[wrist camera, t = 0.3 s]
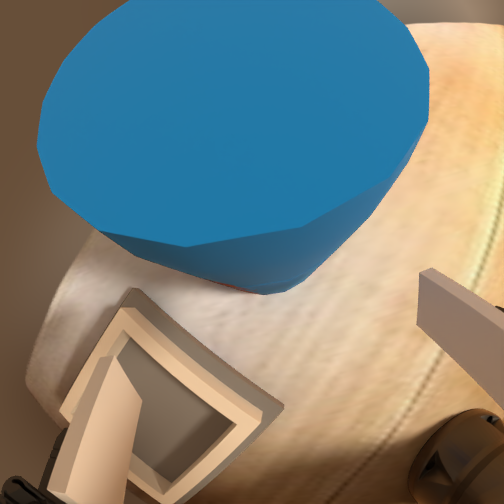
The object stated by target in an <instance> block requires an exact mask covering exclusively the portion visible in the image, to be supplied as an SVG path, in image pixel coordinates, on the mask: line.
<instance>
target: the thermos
mask: <svg viewBox="0 0 504 504" xmlns="http://www.w3.org/2000/svg"><path fill="white" fill-rule="evenodd" d="M428 115H429V68H428V66H427V64H426V62H425V60H424V57H423V55H422V54H421V52H420V50H419V48H418V46H417V44H416V42H415V40H414V38H413V37H412V35H411V33H410V31H409V30H408V28H407V27H406V26H405V25H404V24H403V23H402V22H401V21H400V20H399V19H398V18H397V17H395V16H394V15H393V14H392V13H391V12H390V11H388V10H387V9H386V8H385V7H384V6H383V5H382V4H380V3H379V2H378V1H377V0H129V1H128V2H126V3H125V4H123V5H122V6H121V7H119V8H118V9H116V10H115V11H113V12H112V13H111V14H109V15H108V16H106V17H105V18H104V19H103V20H101V21H100V22H99V23H97V24H96V25H95V26H94V27H93V28H92V29H91V30H90V31H89V32H88V33H87V34H86V36H85V37H84V38H83V39H82V40H81V41H80V42H79V43H78V44H77V45H76V47H75V48H74V49H73V50H72V51H71V52H70V54H69V55H68V56H67V57H66V58H65V60H64V61H63V63H62V65H61V67H60V68H59V70H58V72H57V74H56V76H55V78H54V80H53V82H52V84H51V86H50V88H49V90H48V92H47V94H46V96H45V99H44V101H43V105H42V110H41V118H40V125H39V131H38V140H37V149H38V153H39V156H40V159H41V162H42V165H43V169H44V171H45V174H46V177H47V180H48V183H49V186H50V189H51V191H52V193H53V194H54V195H56V196H57V197H58V198H59V199H60V200H62V201H63V202H64V203H65V204H66V205H67V206H69V207H70V208H71V209H72V210H73V211H75V212H76V213H77V214H78V215H80V216H81V217H82V218H83V219H85V220H86V221H87V222H88V223H90V224H91V225H92V226H93V227H94V228H96V229H97V230H98V231H100V232H101V233H103V234H104V235H105V236H107V237H108V238H110V239H111V240H113V241H114V242H116V243H117V244H118V245H120V246H121V247H123V248H124V249H126V250H127V251H129V252H130V253H132V254H133V255H135V256H137V257H140V258H142V259H145V260H148V261H151V262H154V263H157V264H160V265H163V266H166V267H169V268H172V269H175V270H178V271H181V272H184V273H187V274H190V275H193V276H196V277H200V278H203V279H206V280H209V281H212V282H215V283H218V284H222V285H225V286H228V287H231V288H235V289H238V290H241V291H245V292H250V293H255V294H261V295H267V294H274V293H280V292H285V291H287V290H289V289H291V288H292V287H294V286H296V285H298V284H299V283H301V282H303V281H304V280H305V279H306V278H307V277H309V276H310V275H311V274H312V273H313V272H314V271H315V270H316V269H317V268H318V267H319V266H320V265H321V264H322V263H323V262H324V261H325V260H326V259H327V258H328V257H329V256H331V255H332V254H333V253H334V252H335V251H336V250H337V249H338V248H339V247H340V246H341V245H342V244H343V243H344V242H345V241H346V240H347V239H348V238H349V237H350V236H351V235H352V234H353V233H354V232H355V231H356V230H357V229H358V228H359V227H360V226H361V225H362V224H363V223H364V222H365V221H366V220H367V219H368V218H369V217H370V215H371V214H372V213H373V211H374V210H375V209H376V207H377V206H378V205H379V203H380V202H381V200H382V199H383V198H384V196H385V195H386V193H387V192H388V191H389V189H390V188H391V186H392V185H393V183H394V182H395V181H396V179H397V178H398V176H399V175H400V173H401V172H402V170H403V169H404V168H405V166H406V165H407V163H408V161H409V159H410V157H411V155H412V153H413V151H414V149H415V147H416V145H417V143H418V141H419V139H420V137H421V135H422V133H423V131H424V129H425V126H426V124H427V122H428Z"/></svg>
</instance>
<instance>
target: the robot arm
mask: <svg viewBox="0 0 504 504" xmlns="http://www.w3.org/2000/svg"><path fill="white" fill-rule="evenodd" d="M416 325H417V326H419V327H420V328H421V329H422V330H423V331H424V332H425V333H426V334H427V335H428V336H429V337H431V338H432V339H433V340H434V341H435V342H436V343H437V344H438V345H439V346H440V347H441V348H442V349H443V350H444V351H445V352H447V353H448V354H449V355H450V356H451V357H452V358H453V359H454V360H455V361H456V362H457V363H458V364H459V365H460V366H461V367H462V368H463V369H464V370H465V371H466V372H467V373H468V374H469V375H470V376H471V377H472V378H473V379H474V380H475V381H476V382H477V383H478V384H479V385H480V386H481V387H482V388H483V389H484V390H485V391H486V392H487V393H488V394H489V395H490V396H491V397H492V398H493V399H494V400H495V401H496V402H497V404H498V405H499V406H500V407H501V408H502V409H503V410H504V308H502V307H499V306H495V307H494V306H493V305H491V304H490V303H488V302H487V301H485V300H484V299H482V298H481V297H479V296H478V295H476V294H474V293H473V292H471V291H470V290H468V289H466V288H465V287H463V286H462V285H460V284H458V283H457V282H455V281H453V280H452V279H450V278H448V277H447V276H445V275H443V274H442V273H440V272H438V271H437V270H435V269H433V268H430V269H427V270H425V271H422V272H420V273H419V295H418V312H417V324H416ZM141 405H142V399H141V398H140V396H139V395H138V393H137V392H136V390H135V388H134V387H133V385H132V384H131V382H130V380H129V379H128V377H127V376H126V374H125V372H124V370H123V369H122V367H121V365H120V364H119V362H118V360H117V358H116V357H115V355H112V356H106V357H100V358H99V360H98V362H97V364H96V367H95V369H94V371H93V373H92V375H91V377H90V379H89V381H88V384H87V386H86V388H85V390H84V392H83V395H82V397H81V399H80V402H79V404H78V406H77V409H76V411H75V413H74V416H73V418H72V421H71V423H70V425H69V428H64V429H63V431H62V432H61V433H60V435H59V436H58V437H57V439H56V441H55V444H54V446H53V450H52V452H51V454H50V459H49V460H48V462H47V465H46V468H45V471H44V474H43V476H42V479H41V482H40V485H39V488H38V490H37V489H36V488H35V487H33V486H32V485H31V484H30V483H28V482H27V481H26V480H25V479H23V478H22V477H21V476H13V477H10V478H9V479H8V480H6V482H5V483H4V485H3V487H2V491H1V492H2V494H0V504H123V503H124V496H125V489H126V483H127V476H128V470H129V465H130V459H131V454H132V448H133V443H134V438H135V433H136V428H137V423H138V419H139V414H140V409H141ZM408 488H409V491H410V493H411V495H412V496H413V497H414V499H415V500H416V501H417V502H418V503H419V504H504V423H503V421H502V420H501V419H500V418H499V417H498V416H497V415H496V414H494V413H492V412H490V411H488V410H485V409H472V410H469V411H466V412H464V413H461V414H460V415H458V416H456V417H454V418H453V419H451V420H450V421H449V422H447V423H446V424H445V425H444V426H442V427H441V428H440V429H439V430H438V431H437V432H436V433H435V434H434V435H433V436H432V437H431V438H430V439H429V440H428V442H427V443H426V444H425V445H424V447H423V448H422V449H421V451H420V452H419V454H418V455H417V457H416V459H415V461H414V463H413V465H412V467H411V470H410V473H409V477H408Z"/></svg>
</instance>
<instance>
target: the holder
mask: <svg viewBox="0 0 504 504" xmlns="http://www.w3.org/2000/svg"><path fill="white" fill-rule="evenodd" d="M112 355H115V357H116V358H117V360H118V362H119V364H120V365H121V367H122V369H123V370H124V372H125V374H126V376H127V377H128V379H129V380H130V382H131V384H132V385H133V387H134V388H135V390H136V392H137V393H138V395H139V396H140V398H141V399H142V405H141V409H140V414H139V419H138V423H137V428H136V433H135V438H134V443H133V448H132V454H131V459H130V465H129V470H128V476H127V478H128V479H129V480H130V481H131V482H133V483H134V484H135V485H137V486H138V487H139V488H140V489H142V490H143V491H144V492H146V493H147V494H149V495H150V496H151V497H153V498H154V499H155V500H157V501H158V502H160V503H161V504H174V503H175V504H184V503H185V502H186V501H188V500H189V499H190V498H191V497H193V496H194V495H195V494H196V493H198V492H199V491H200V490H201V489H202V488H204V487H205V486H206V485H207V484H208V483H209V482H211V481H212V480H213V479H214V478H215V477H216V476H217V475H219V474H220V473H221V472H222V471H223V470H224V469H225V468H226V467H227V466H229V465H230V464H231V463H232V462H233V461H234V460H235V459H236V458H237V457H238V456H239V455H240V454H241V453H242V452H243V451H244V450H245V449H246V448H248V447H249V446H250V445H251V444H252V443H253V442H254V441H255V440H256V439H257V438H258V436H259V435H260V434H261V433H262V432H263V431H264V430H265V429H266V428H267V427H268V426H269V425H270V424H271V423H272V422H273V421H274V420H275V419H276V418H277V416H278V415H279V414H280V413H281V412H282V411H283V410H284V404H283V403H281V402H280V401H278V400H277V399H275V398H274V397H273V396H271V395H270V394H268V393H267V392H265V391H264V390H263V389H261V388H260V387H258V386H257V385H255V384H254V383H253V382H251V381H250V380H249V379H247V378H246V377H244V376H243V375H242V374H240V373H239V372H238V371H236V370H235V369H234V368H232V367H231V366H230V365H228V364H227V363H226V362H225V361H223V360H222V359H221V358H219V357H218V356H217V355H216V354H214V353H213V352H212V351H211V350H209V349H208V348H207V347H206V346H204V345H203V344H202V343H201V342H199V341H198V340H197V339H196V338H195V337H193V336H192V335H191V334H190V333H189V332H187V331H186V330H185V329H184V328H183V327H181V326H180V325H179V324H178V323H177V322H176V321H174V320H173V319H172V318H171V317H170V316H169V315H168V314H166V313H165V312H164V311H163V310H162V309H161V308H160V307H159V306H158V305H156V304H155V303H154V302H153V301H152V300H151V299H150V298H149V297H148V296H147V295H146V294H144V293H143V292H142V291H141V290H140V289H139V288H132V290H131V291H130V293H129V294H128V296H127V297H126V299H125V300H124V302H123V303H122V305H121V306H120V308H119V309H118V311H117V312H116V314H115V315H114V317H113V318H112V320H111V322H110V323H109V325H108V326H107V328H106V329H105V331H104V333H103V334H102V336H101V337H100V339H99V341H98V342H97V344H96V345H95V347H94V349H93V350H92V352H91V354H90V355H89V357H88V359H87V360H86V362H85V364H84V365H83V367H82V369H81V371H80V372H79V374H78V376H77V378H76V379H75V381H74V383H73V385H72V386H71V388H70V390H69V392H68V394H67V395H66V397H65V399H64V401H63V404H62V406H61V408H60V410H59V411H60V413H61V414H62V415H63V416H64V417H65V418H66V420H67V421H68V422H69V423H71V421H72V418H73V416H74V413H75V411H76V409H77V406H78V404H79V402H80V399H81V397H82V395H83V392H84V390H85V388H86V386H87V384H88V381H89V379H90V377H91V375H92V373H93V371H94V369H95V367H96V364H97V362H98V360H99V358H100V357H106V356H112Z"/></svg>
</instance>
